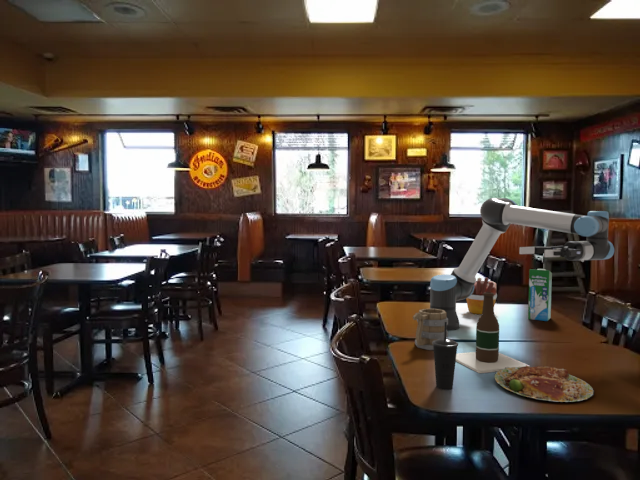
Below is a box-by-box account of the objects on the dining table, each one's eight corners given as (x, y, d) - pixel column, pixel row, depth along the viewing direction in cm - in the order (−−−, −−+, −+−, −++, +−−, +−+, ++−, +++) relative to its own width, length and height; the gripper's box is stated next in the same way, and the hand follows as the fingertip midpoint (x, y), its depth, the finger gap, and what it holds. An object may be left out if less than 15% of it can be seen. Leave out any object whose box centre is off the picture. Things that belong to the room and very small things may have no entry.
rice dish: (608, 412, 138) (609, 392, 138) (502, 401, 143) (504, 382, 143) (575, 378, 166) (576, 362, 166) (487, 370, 171) (488, 354, 170)
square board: (446, 356, 186) (446, 354, 186) (493, 352, 192) (493, 350, 192) (479, 373, 167) (479, 371, 167) (529, 368, 173) (529, 365, 173)
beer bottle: (500, 363, 175) (502, 294, 173) (476, 362, 176) (478, 294, 175) (496, 357, 182) (498, 291, 181) (474, 356, 184) (475, 290, 182)
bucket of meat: (460, 308, 276) (461, 272, 275) (491, 309, 275) (492, 273, 274) (468, 316, 256) (469, 277, 255) (502, 317, 255) (503, 278, 254)
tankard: (427, 340, 209) (427, 304, 208) (454, 346, 200) (455, 308, 199) (398, 349, 195) (398, 310, 194) (425, 356, 186) (426, 315, 185)
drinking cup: (428, 382, 157) (429, 319, 156) (452, 382, 158) (453, 319, 157) (435, 391, 150) (437, 324, 148) (461, 391, 150) (462, 324, 149)
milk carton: (550, 318, 254) (552, 268, 252) (547, 321, 246) (549, 270, 245) (531, 315, 259) (532, 267, 257) (527, 319, 251) (529, 269, 250)
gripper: (603, 263, 187) (556, 265, 180) (553, 257, 210) (510, 258, 204) (604, 243, 186) (557, 244, 180) (553, 239, 210) (510, 240, 204)
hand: (532, 252), depth 192 cm, fingers open, 13 cm apart
